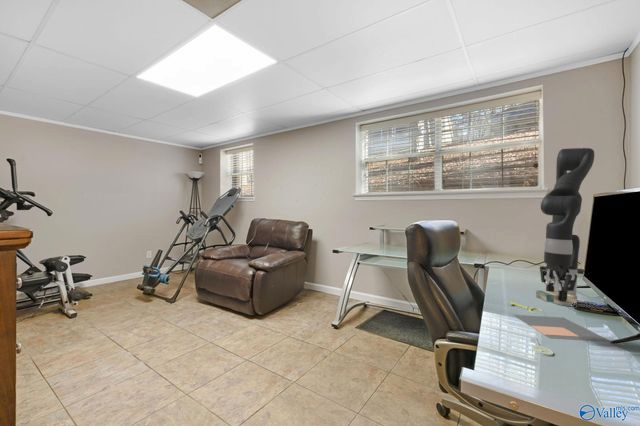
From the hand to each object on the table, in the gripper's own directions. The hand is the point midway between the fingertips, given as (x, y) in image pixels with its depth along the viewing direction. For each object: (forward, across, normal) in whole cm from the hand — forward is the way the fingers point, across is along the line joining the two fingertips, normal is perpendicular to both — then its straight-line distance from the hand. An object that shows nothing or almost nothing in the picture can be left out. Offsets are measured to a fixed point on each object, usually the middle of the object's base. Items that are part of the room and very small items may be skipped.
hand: (555, 298), depth 96 cm
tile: (+1, 0, 0) cm, 1 cm away
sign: (+13, -10, +12) cm, 20 cm away
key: (+13, +22, -5) cm, 26 cm away
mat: (+12, +4, -4) cm, 14 cm away
